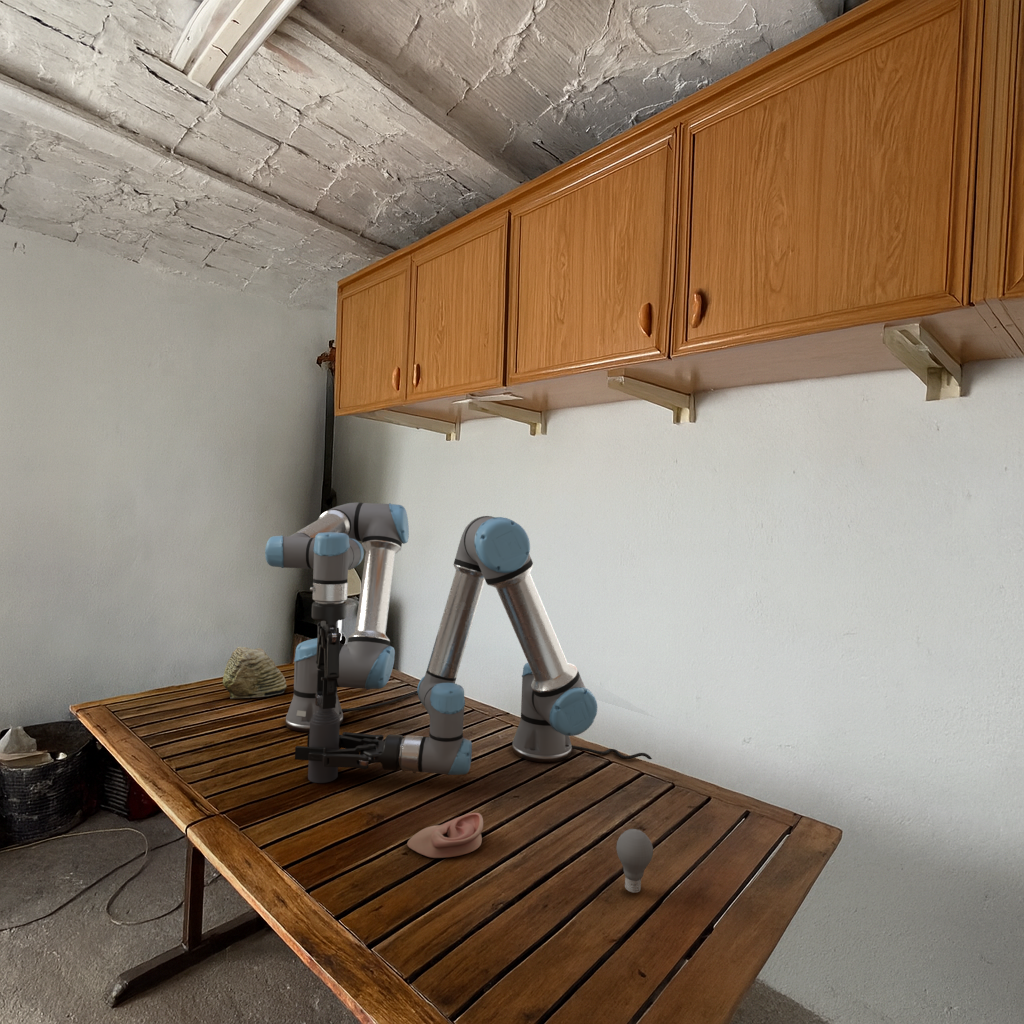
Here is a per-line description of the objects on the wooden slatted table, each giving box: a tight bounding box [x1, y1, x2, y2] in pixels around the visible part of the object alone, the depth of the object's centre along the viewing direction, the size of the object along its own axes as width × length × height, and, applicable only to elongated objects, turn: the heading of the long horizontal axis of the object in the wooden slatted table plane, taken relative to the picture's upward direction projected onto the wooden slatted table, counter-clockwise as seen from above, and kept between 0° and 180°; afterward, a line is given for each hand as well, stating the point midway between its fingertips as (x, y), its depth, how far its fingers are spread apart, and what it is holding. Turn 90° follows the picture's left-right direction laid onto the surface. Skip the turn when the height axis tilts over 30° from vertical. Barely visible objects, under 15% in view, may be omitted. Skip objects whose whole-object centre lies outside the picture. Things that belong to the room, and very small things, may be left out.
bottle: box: [307, 706, 341, 784], centre depth 143 cm, size 6×6×18 cm
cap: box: [315, 691, 323, 707], centre depth 143 cm, size 4×4×2 cm
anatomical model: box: [406, 812, 484, 859], centre depth 118 cm, size 13×4×12 cm
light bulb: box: [615, 828, 654, 894], centre depth 106 cm, size 6×6×10 cm
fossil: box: [222, 646, 288, 699], centre depth 198 cm, size 9×18×15 cm, turn 132°
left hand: (325, 702), depth 143 cm, fingers open, 7 cm apart
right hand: (302, 746), depth 143 cm, fingers closed on bottle, 6 cm apart
